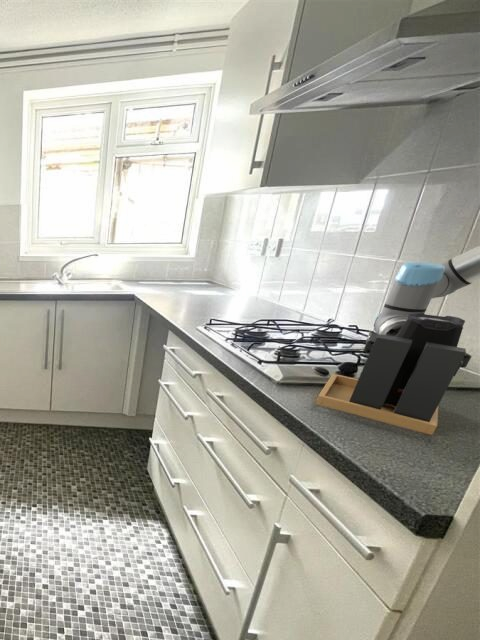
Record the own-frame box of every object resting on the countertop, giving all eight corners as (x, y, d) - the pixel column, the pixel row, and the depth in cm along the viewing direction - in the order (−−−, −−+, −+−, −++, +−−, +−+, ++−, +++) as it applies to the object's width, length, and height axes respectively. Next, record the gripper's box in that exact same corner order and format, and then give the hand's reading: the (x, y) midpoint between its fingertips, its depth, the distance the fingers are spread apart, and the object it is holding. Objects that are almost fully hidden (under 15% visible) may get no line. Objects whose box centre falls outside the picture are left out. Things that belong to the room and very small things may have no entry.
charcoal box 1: (378, 412, 87) (412, 339, 81) (377, 417, 85) (411, 343, 79) (348, 404, 91) (378, 333, 84) (345, 408, 89) (376, 337, 82)
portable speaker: (407, 417, 85) (453, 325, 77) (356, 398, 93) (393, 312, 85) (435, 411, 87) (482, 321, 79) (383, 393, 95) (422, 309, 87)
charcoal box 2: (425, 424, 83) (465, 348, 76) (425, 429, 81) (466, 352, 74) (391, 415, 86) (427, 342, 80) (390, 420, 84) (426, 345, 78)
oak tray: (432, 408, 91) (438, 397, 90) (430, 438, 79) (437, 426, 78) (328, 383, 103) (333, 373, 101) (314, 406, 91) (318, 395, 90)
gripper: (459, 360, 95) (491, 395, 78) (339, 342, 106) (345, 369, 90) (476, 328, 91) (513, 358, 75) (350, 313, 103) (359, 335, 86)
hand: (421, 364), depth 82 cm, fingers closed on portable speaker, 8 cm apart
